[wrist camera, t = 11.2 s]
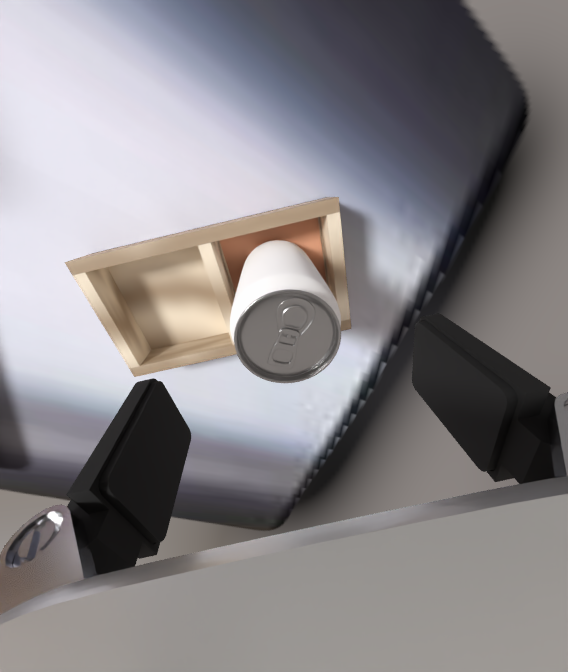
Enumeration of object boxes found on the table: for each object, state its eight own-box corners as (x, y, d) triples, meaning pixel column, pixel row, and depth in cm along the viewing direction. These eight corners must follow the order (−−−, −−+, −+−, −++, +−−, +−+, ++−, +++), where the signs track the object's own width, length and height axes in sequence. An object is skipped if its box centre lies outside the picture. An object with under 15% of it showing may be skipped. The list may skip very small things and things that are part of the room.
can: (322, 249, 23) (369, 298, 13) (301, 314, 26) (325, 396, 16) (250, 229, 22) (237, 266, 12) (236, 299, 25) (216, 379, 14)
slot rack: (93, 253, 23) (64, 262, 20) (326, 197, 22) (338, 197, 19) (149, 355, 28) (134, 376, 25) (340, 312, 27) (351, 328, 24)
